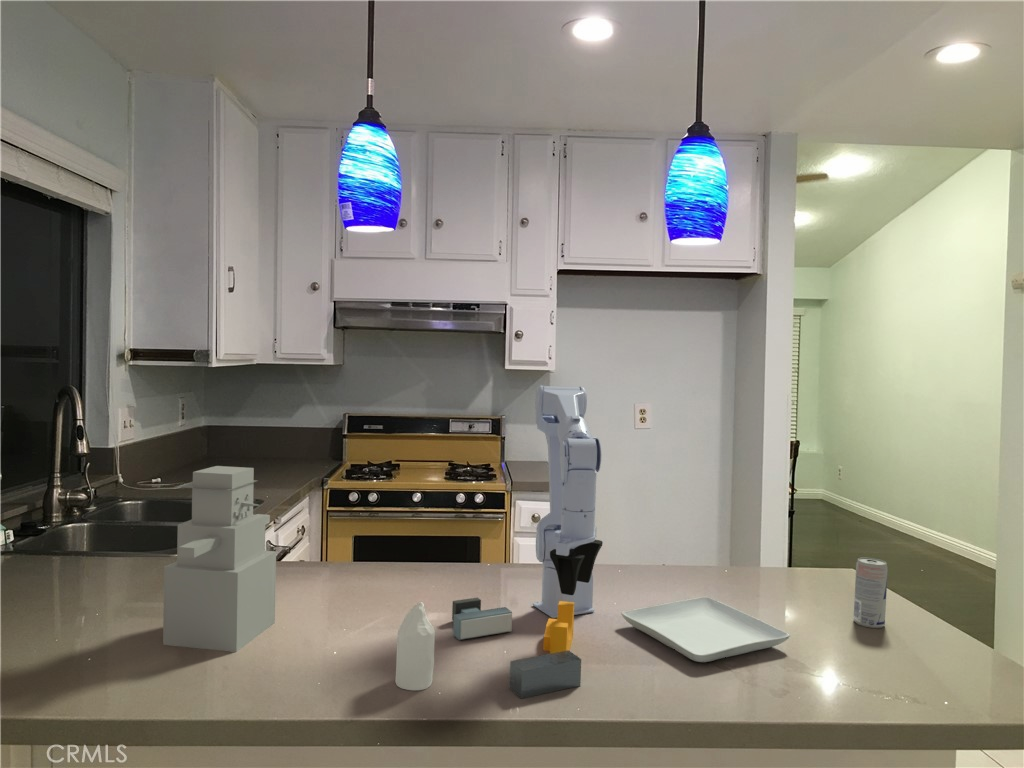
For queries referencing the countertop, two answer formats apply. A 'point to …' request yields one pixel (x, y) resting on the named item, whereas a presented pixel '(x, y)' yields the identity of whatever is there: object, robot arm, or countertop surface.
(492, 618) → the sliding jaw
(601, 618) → the countertop surface
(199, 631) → the stacked tiered boxes
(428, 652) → the pale white bottle
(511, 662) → the block
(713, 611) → the salad plate
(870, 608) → the energy drink
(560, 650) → the pipe clamp
